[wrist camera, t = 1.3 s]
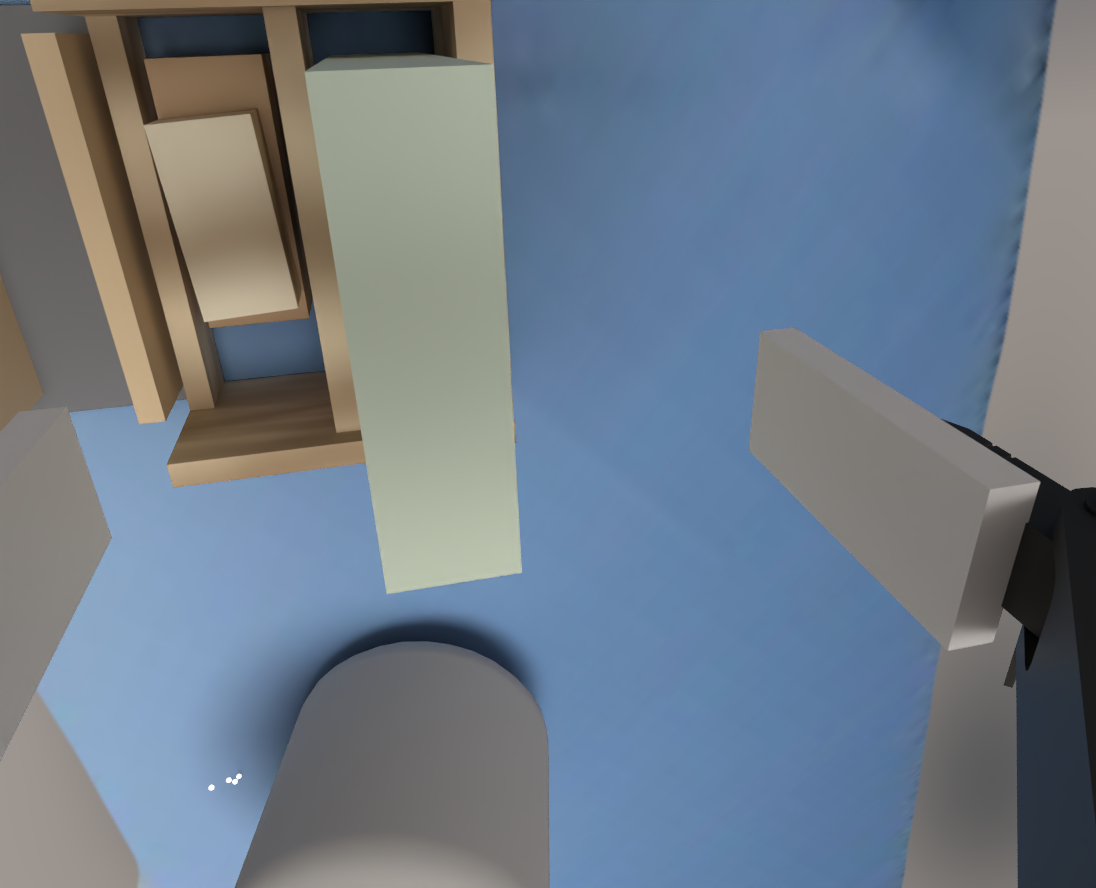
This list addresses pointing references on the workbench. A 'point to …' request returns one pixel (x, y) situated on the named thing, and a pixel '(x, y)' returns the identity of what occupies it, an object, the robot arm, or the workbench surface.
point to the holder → (71, 237)
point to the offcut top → (226, 212)
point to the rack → (319, 397)
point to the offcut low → (225, 89)
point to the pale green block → (423, 305)
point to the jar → (409, 779)
